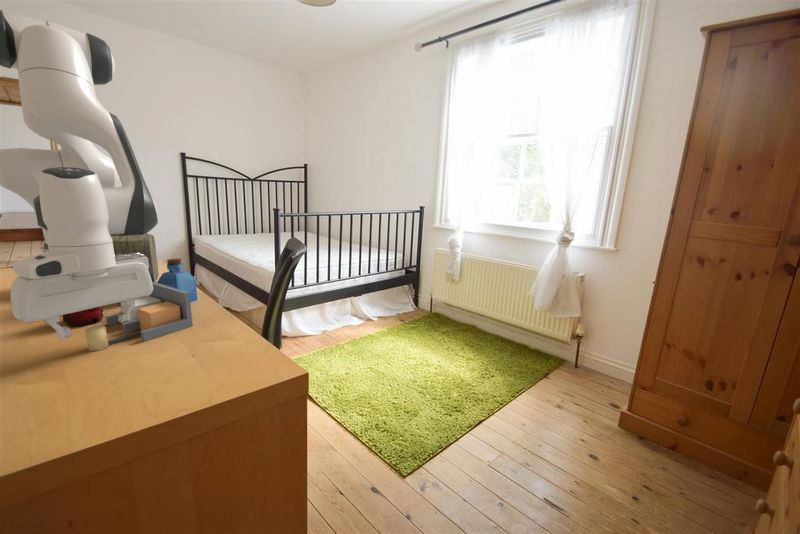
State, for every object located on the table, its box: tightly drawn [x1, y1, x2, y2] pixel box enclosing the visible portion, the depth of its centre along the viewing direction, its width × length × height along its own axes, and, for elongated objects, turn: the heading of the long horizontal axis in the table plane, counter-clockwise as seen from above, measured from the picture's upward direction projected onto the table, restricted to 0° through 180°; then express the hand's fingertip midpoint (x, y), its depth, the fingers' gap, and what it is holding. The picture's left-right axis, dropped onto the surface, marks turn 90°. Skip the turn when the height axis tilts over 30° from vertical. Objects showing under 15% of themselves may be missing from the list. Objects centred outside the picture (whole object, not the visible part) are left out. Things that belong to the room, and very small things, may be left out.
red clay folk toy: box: [61, 306, 104, 326], centre depth 79 cm, size 8×7×15 cm
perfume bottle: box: [156, 258, 198, 304], centre depth 93 cm, size 6×6×12 cm
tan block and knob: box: [84, 302, 181, 352], centre depth 74 cm, size 5×16×5 cm, turn 151°
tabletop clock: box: [110, 232, 159, 304], centre depth 96 cm, size 14×9×25 cm, turn 29°
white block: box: [120, 296, 161, 323], centre depth 81 cm, size 5×6×5 cm
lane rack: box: [105, 282, 194, 342], centre depth 79 cm, size 16×10×8 cm, turn 61°
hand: (96, 329), depth 68 cm, fingers open, 8 cm apart
